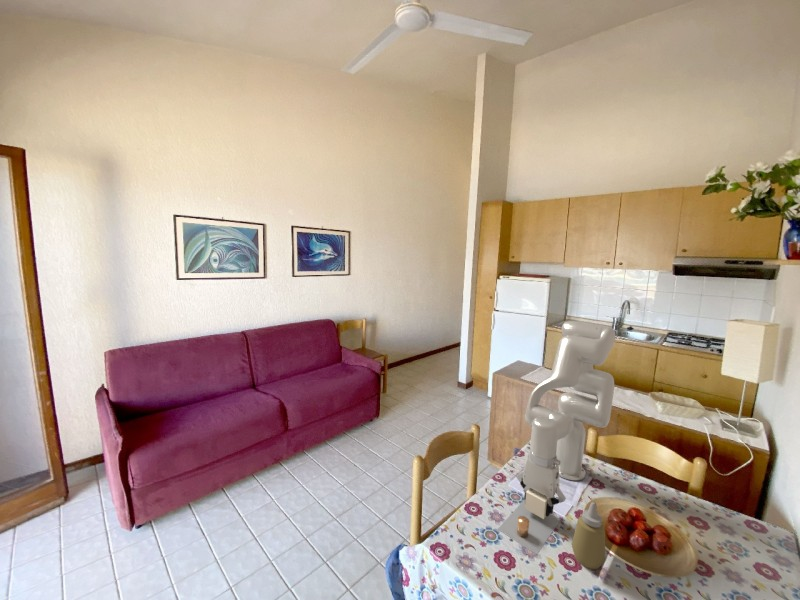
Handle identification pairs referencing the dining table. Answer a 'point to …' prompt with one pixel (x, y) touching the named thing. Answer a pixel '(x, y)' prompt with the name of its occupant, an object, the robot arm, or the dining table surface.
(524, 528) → the post
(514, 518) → the plate
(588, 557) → the squeeze bottle
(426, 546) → the dining table surface
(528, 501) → the cream foam brick
